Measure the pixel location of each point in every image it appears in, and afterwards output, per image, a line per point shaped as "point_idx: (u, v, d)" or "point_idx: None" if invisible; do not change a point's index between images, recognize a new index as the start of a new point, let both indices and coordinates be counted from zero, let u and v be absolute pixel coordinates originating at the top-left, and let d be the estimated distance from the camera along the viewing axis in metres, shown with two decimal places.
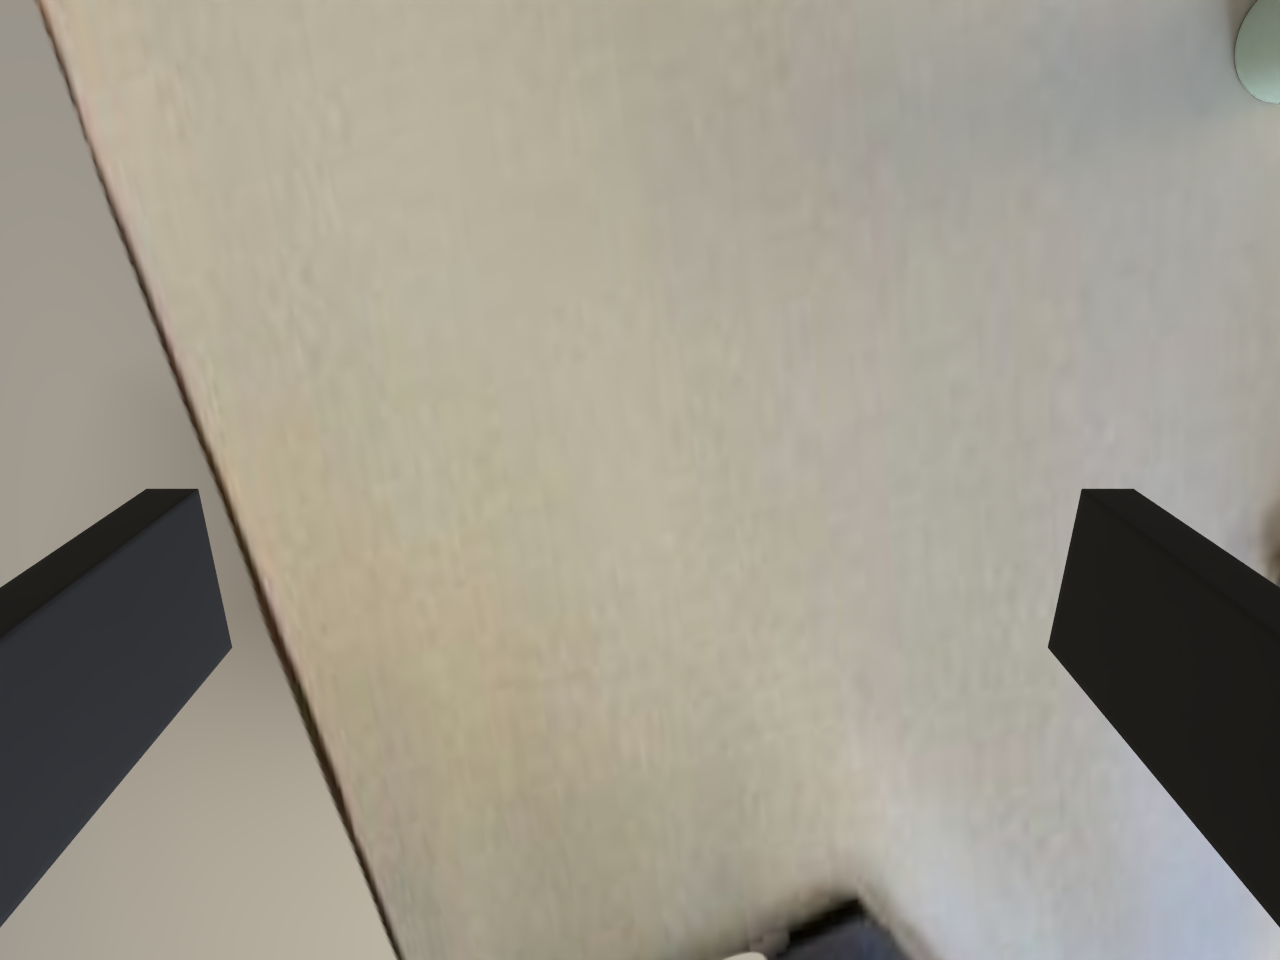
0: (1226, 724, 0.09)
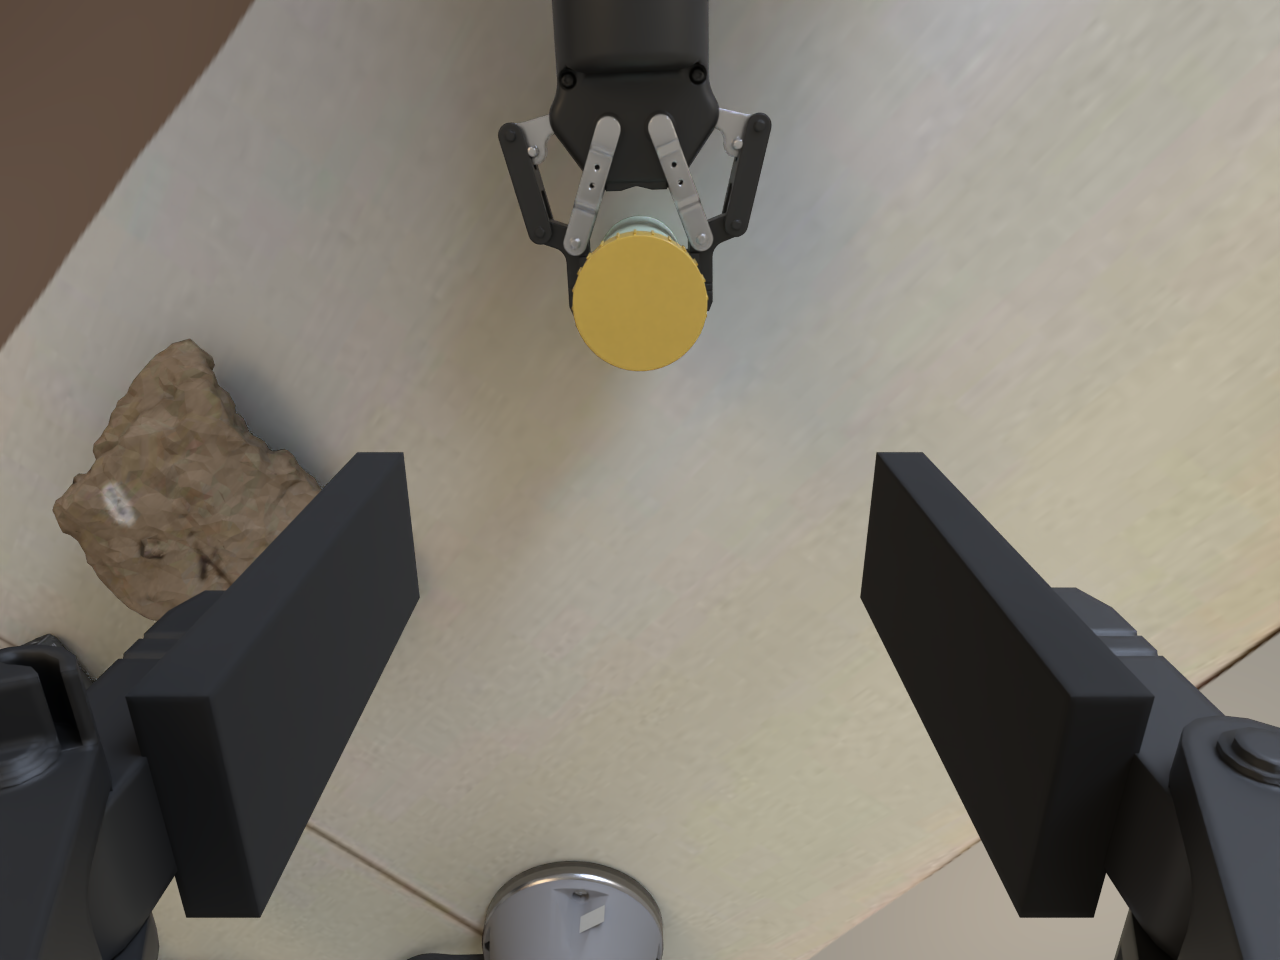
0: (943, 644, 0.10)
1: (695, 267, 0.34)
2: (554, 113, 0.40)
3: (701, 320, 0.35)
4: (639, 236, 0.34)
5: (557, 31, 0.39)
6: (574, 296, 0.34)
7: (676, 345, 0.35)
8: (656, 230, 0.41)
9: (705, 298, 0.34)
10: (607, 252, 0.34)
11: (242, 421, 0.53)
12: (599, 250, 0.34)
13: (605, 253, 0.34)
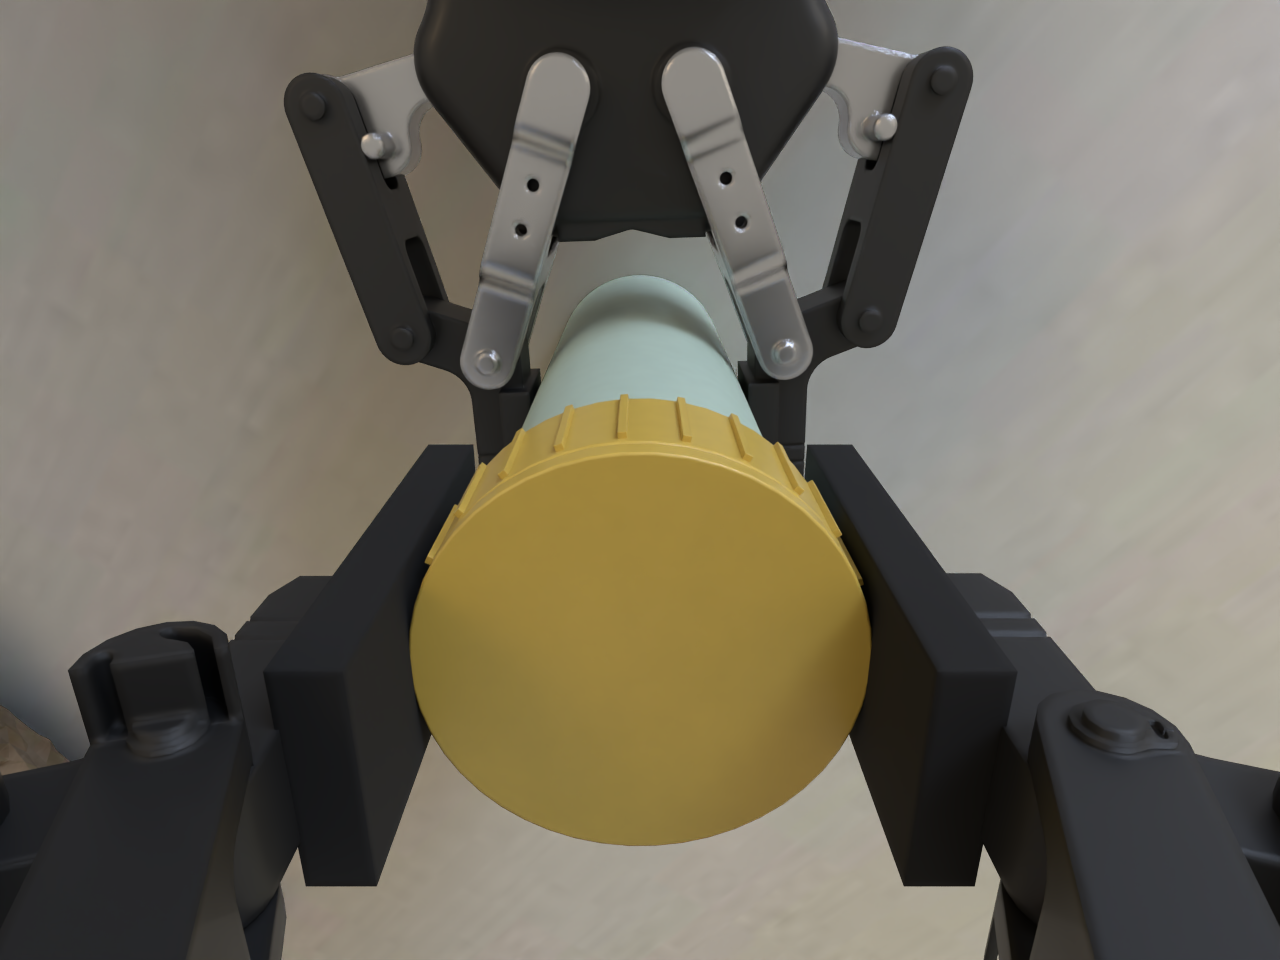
0: None
1: (839, 556, 0.09)
2: (424, 49, 0.16)
3: (848, 713, 0.10)
4: (639, 455, 0.09)
5: None
6: (413, 644, 0.10)
7: (760, 781, 0.11)
8: (680, 338, 0.17)
9: (867, 649, 0.10)
10: (522, 509, 0.09)
11: None
12: (493, 501, 0.09)
13: (515, 512, 0.09)
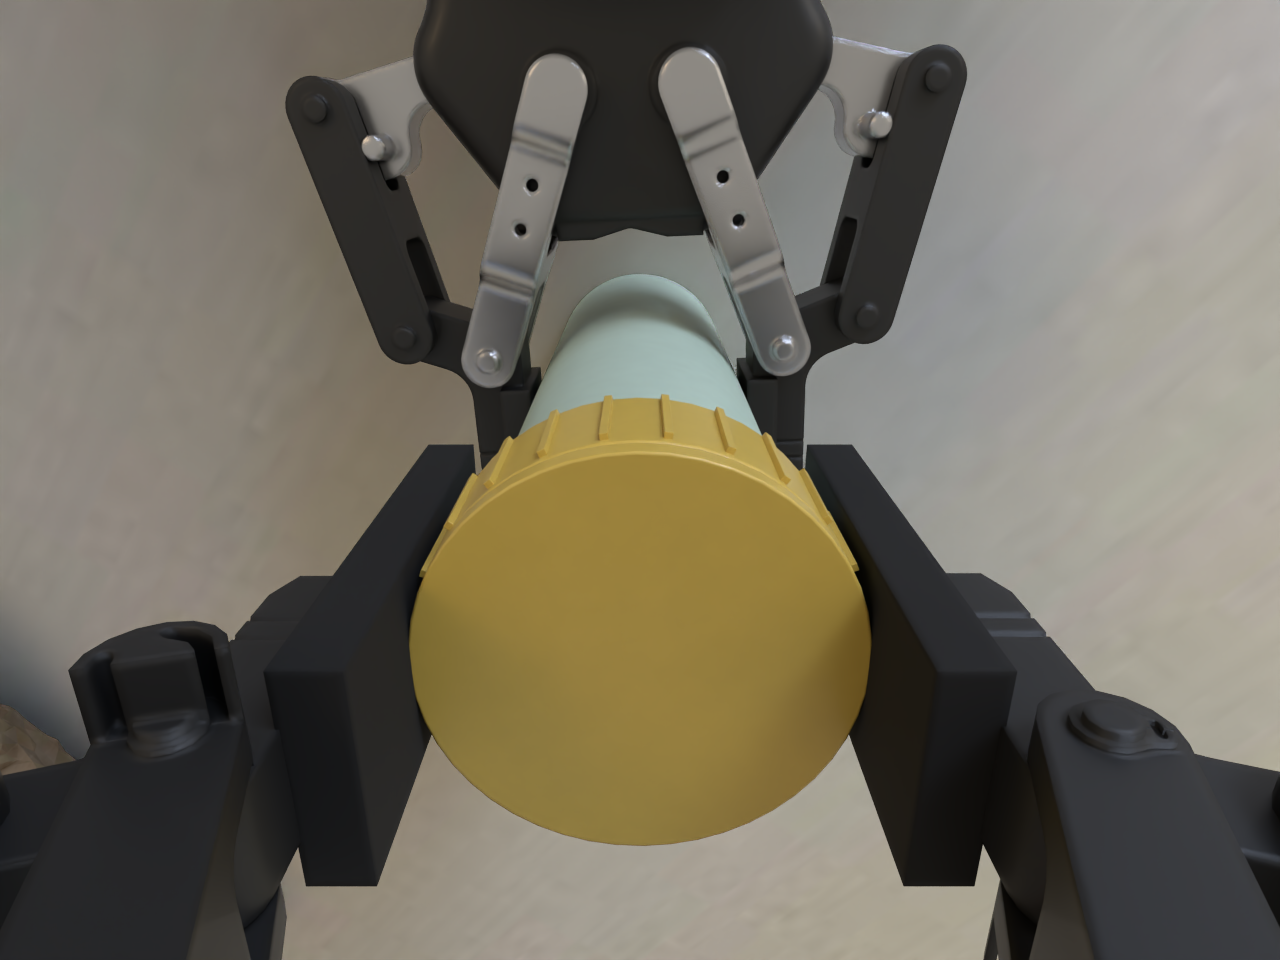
0: None
1: (421, 596, 0.10)
2: (423, 51, 0.16)
3: (555, 479, 0.09)
4: (463, 770, 0.11)
5: None
6: (732, 826, 0.11)
7: (687, 501, 0.09)
8: (679, 335, 0.17)
9: (482, 511, 0.09)
10: (561, 818, 0.11)
11: None
12: (572, 833, 0.11)
13: (568, 820, 0.11)
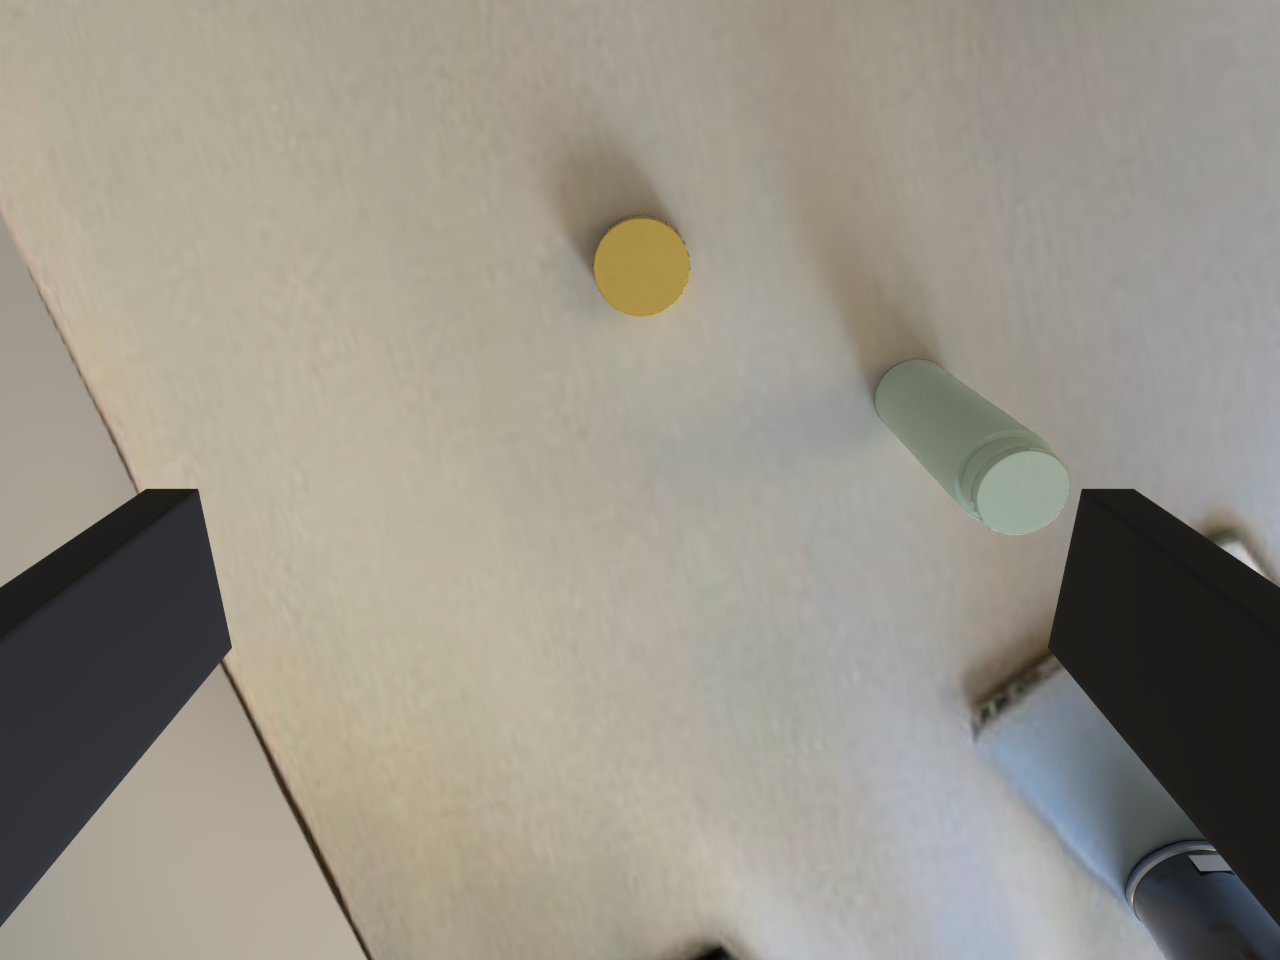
0: (1227, 725, 0.09)
1: (651, 314, 0.49)
2: None
3: (615, 306, 0.49)
4: (685, 285, 0.49)
5: None
6: (664, 225, 0.47)
7: (605, 282, 0.49)
8: None
9: (629, 313, 0.49)
10: (684, 260, 0.48)
11: None
12: (687, 255, 0.48)
13: (683, 259, 0.48)
